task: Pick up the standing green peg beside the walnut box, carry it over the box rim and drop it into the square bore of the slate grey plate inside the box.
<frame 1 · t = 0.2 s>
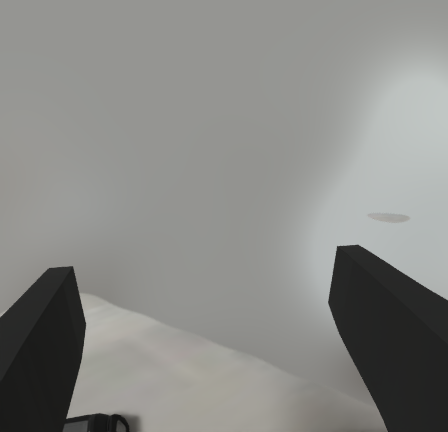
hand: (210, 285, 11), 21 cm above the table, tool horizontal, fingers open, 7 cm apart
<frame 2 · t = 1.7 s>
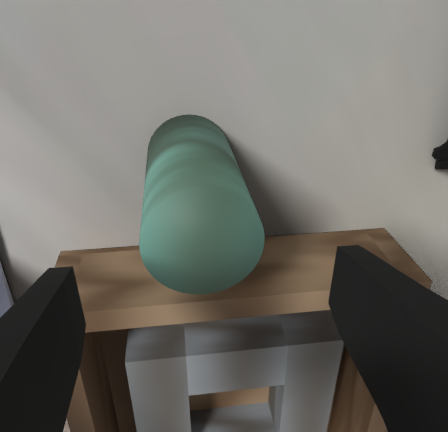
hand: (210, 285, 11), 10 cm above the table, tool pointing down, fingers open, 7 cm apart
box: (228, 374, 28), on the table
peg: (189, 155, 20), on the table
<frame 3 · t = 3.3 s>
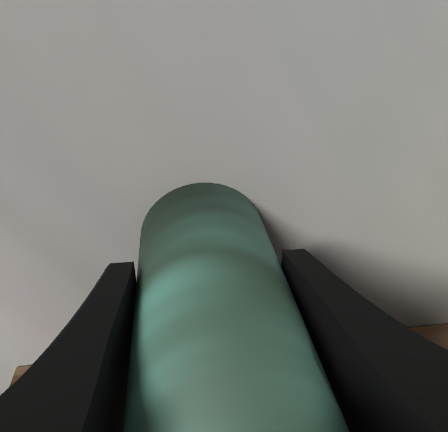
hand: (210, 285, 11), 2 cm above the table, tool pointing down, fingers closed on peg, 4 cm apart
peg: (202, 238, 13), on the table, touching gripper
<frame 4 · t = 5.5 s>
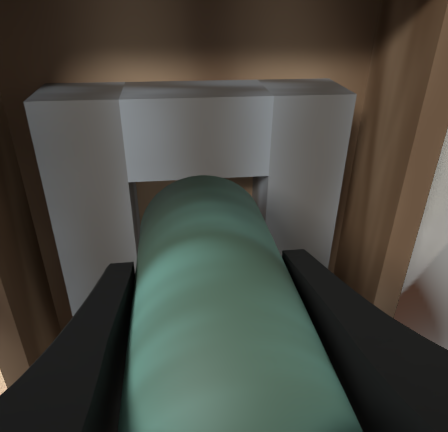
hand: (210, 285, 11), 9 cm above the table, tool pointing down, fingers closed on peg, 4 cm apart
box: (195, 202, 21), on the table
peg: (202, 232, 13), point 7 cm above the table, touching gripper
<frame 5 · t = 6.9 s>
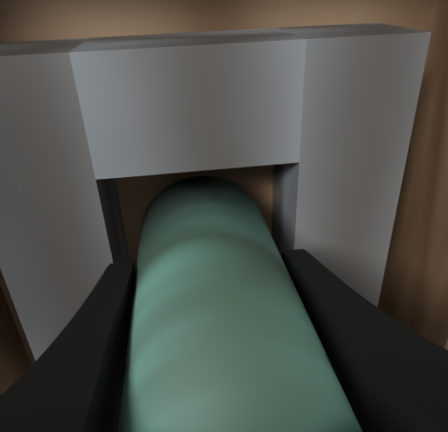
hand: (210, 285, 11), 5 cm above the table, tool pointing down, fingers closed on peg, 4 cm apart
box: (197, 203, 16), on the table
peg: (202, 233, 13), point 2 cm above the table, touching gripper
when the fingers open (5 cm above the table, at t = 7.9 s): peg drops 2 cm, resting on box.
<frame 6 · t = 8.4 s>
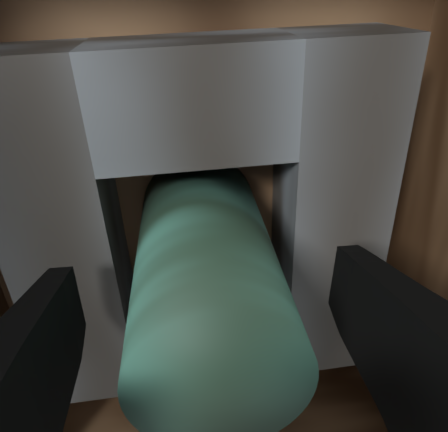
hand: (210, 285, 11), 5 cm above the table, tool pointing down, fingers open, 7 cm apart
box: (197, 203, 16), on the table
peg: (198, 205, 15), resting on box
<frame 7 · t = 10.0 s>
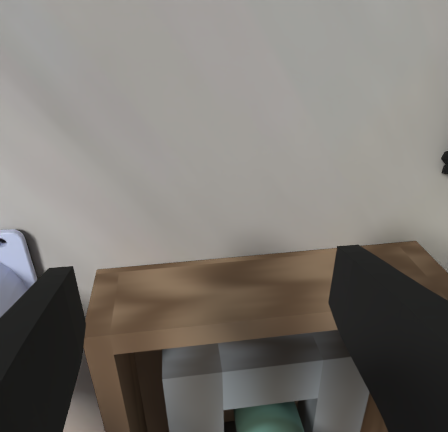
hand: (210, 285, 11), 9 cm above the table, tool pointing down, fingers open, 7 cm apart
box: (258, 386, 28), on the table
peg: (260, 390, 28), resting on box
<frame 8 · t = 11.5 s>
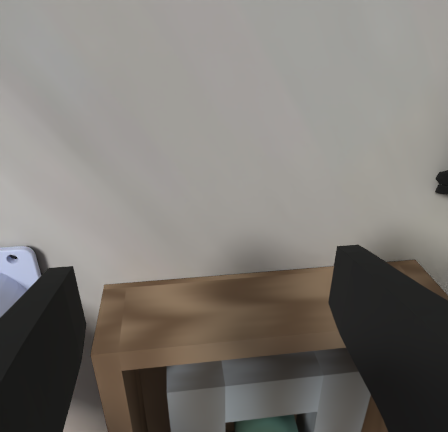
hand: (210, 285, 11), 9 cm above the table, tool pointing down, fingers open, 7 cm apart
box: (258, 398, 29), on the table
peg: (260, 402, 28), resting on box
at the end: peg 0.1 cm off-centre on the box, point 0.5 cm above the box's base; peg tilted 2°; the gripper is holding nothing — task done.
